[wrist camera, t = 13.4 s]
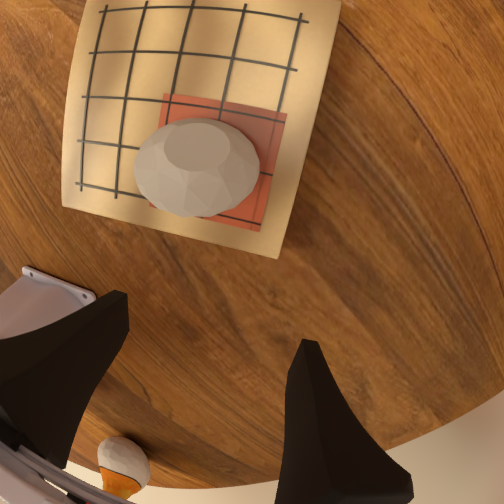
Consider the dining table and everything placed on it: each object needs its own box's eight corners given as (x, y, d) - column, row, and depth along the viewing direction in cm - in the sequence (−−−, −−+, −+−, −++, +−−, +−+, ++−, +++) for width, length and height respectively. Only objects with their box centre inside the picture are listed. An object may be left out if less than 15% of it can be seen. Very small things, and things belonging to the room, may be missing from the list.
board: (73, 199, 20) (60, 206, 19) (101, -5, 13) (88, -10, 12) (279, 249, 20) (277, 260, 19) (338, 8, 13) (343, 0, 11)
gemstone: (132, 241, 16) (111, 192, 11) (159, 155, 18) (153, 97, 14) (241, 259, 17) (258, 214, 12) (253, 169, 19) (269, 113, 15)
